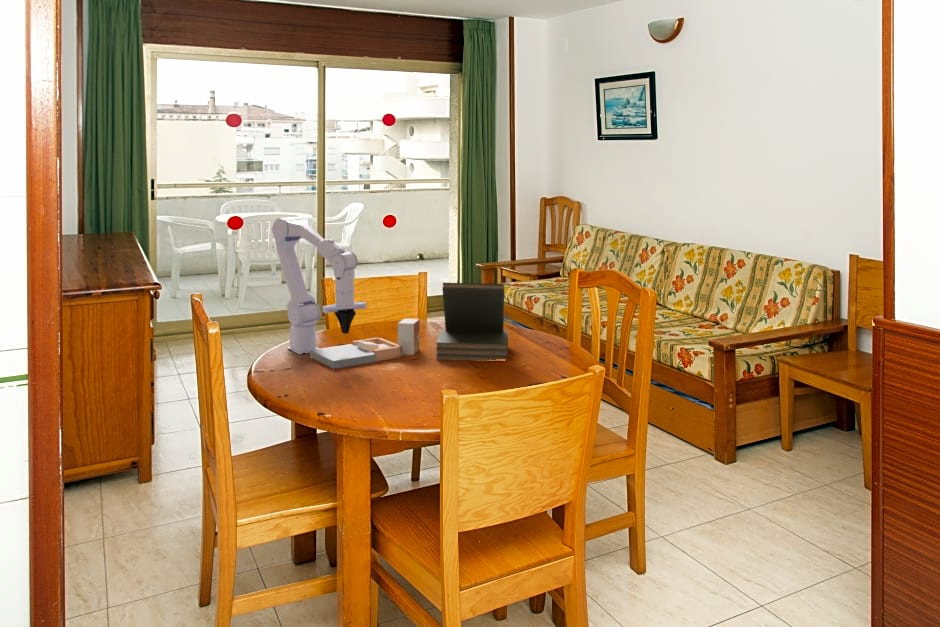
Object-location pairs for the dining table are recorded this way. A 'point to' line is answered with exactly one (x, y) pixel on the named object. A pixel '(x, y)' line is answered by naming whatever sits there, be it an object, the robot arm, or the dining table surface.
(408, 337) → the small box
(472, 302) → the open dark laptop
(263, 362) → the dining table surface
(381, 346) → the tile
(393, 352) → the tray
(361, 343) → the tile
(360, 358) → the board
